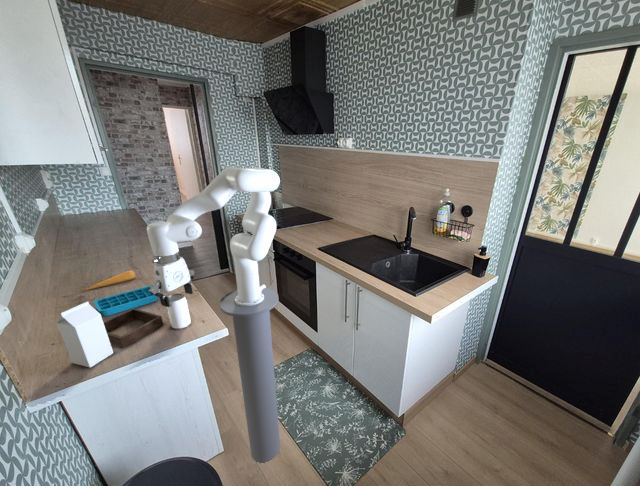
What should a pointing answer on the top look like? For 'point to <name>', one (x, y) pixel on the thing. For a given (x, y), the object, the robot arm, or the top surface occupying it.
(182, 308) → the can
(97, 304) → the ice cube tray
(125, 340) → the crate
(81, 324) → the milk carton
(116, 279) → the carrot
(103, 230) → the top surface
